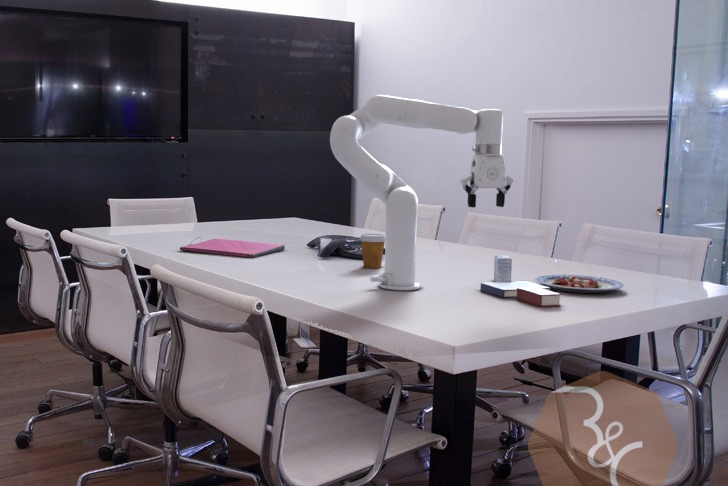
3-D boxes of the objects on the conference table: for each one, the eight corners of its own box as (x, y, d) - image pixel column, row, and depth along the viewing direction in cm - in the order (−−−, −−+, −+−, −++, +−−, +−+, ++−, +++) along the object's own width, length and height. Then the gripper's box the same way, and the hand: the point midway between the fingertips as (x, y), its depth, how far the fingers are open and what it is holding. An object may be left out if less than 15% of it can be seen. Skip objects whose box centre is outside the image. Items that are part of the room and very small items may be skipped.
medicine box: (511, 285, 248) (512, 258, 247) (496, 284, 249) (498, 258, 248) (507, 281, 256) (508, 255, 255) (493, 280, 257) (494, 254, 256)
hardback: (503, 298, 227) (503, 290, 226) (480, 290, 238) (480, 282, 238) (549, 295, 230) (550, 287, 230) (525, 288, 242) (525, 280, 242)
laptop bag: (285, 241, 327) (252, 249, 305) (285, 250, 328) (252, 259, 305) (208, 234, 349) (172, 241, 326) (208, 243, 349) (172, 251, 327)
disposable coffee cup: (389, 266, 286) (390, 234, 284) (379, 269, 278) (380, 237, 276) (365, 264, 291) (365, 232, 289) (355, 267, 283) (355, 235, 281)
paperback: (540, 307, 214) (541, 294, 214) (516, 299, 225) (517, 287, 224) (560, 306, 216) (560, 293, 215) (535, 298, 226) (536, 286, 226)
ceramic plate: (516, 283, 250) (517, 274, 250) (576, 279, 260) (577, 270, 259) (579, 298, 227) (580, 288, 226) (642, 292, 236) (643, 283, 236)
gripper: (469, 150, 226) (467, 208, 228) (521, 150, 230) (518, 207, 232) (456, 150, 233) (454, 206, 236) (506, 150, 238) (503, 205, 240)
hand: (485, 206), depth 234 cm, fingers open, 9 cm apart
